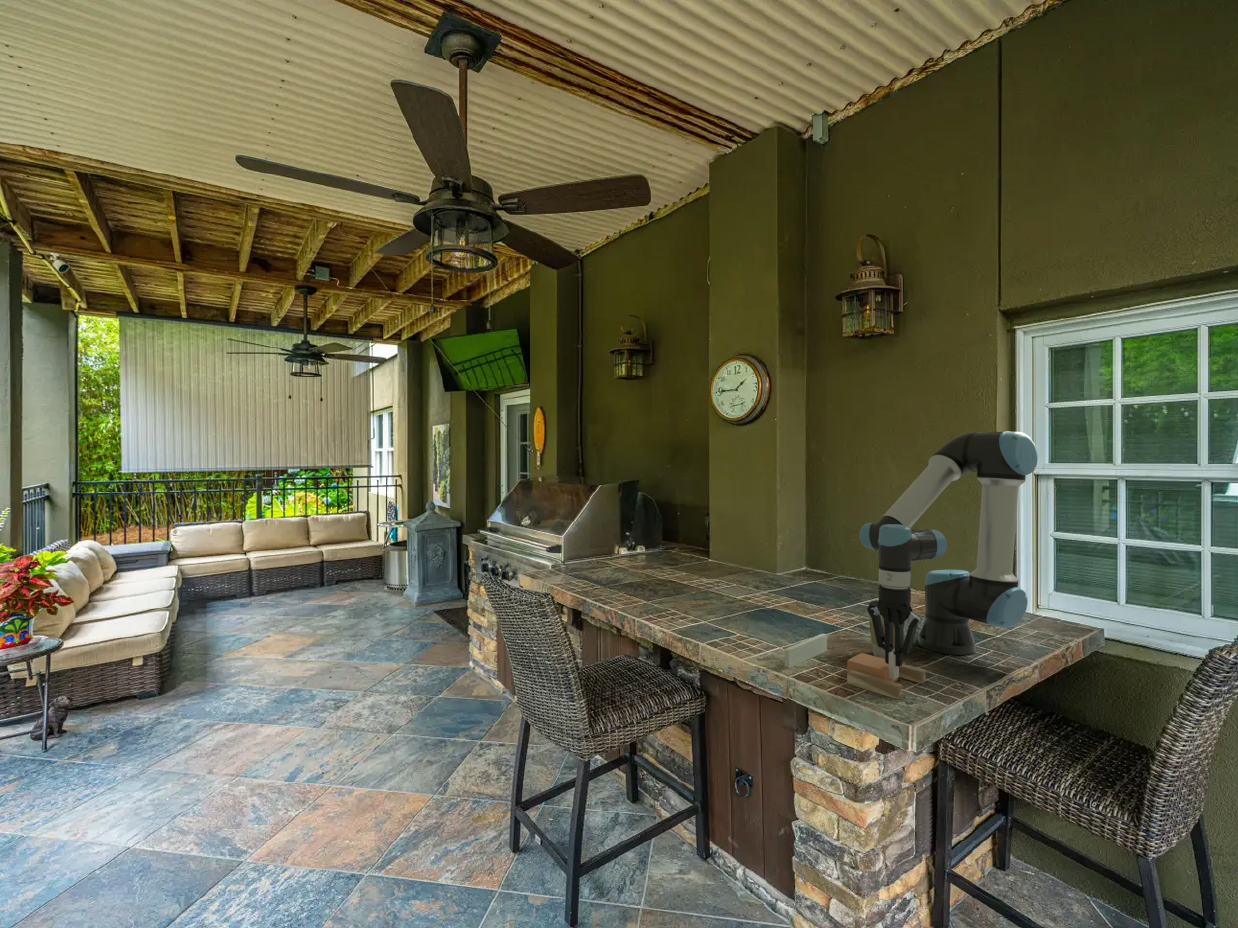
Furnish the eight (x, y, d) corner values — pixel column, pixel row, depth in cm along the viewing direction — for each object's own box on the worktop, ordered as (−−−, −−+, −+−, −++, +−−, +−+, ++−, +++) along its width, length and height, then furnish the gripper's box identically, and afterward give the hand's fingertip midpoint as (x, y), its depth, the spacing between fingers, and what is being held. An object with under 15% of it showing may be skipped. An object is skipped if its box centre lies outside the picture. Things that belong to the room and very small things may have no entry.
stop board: (822, 649, 179) (822, 633, 179) (826, 651, 178) (826, 634, 178) (784, 666, 166) (784, 649, 166) (789, 668, 165) (789, 650, 165)
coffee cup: (893, 649, 179) (893, 599, 179) (910, 661, 170) (911, 608, 169) (860, 649, 179) (861, 600, 179) (876, 662, 169) (876, 609, 169)
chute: (875, 667, 165) (876, 656, 165) (925, 681, 155) (925, 669, 155) (847, 683, 155) (847, 671, 154) (898, 699, 145) (898, 687, 145)
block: (861, 669, 165) (861, 652, 164) (898, 679, 157) (898, 662, 157) (847, 676, 159) (847, 660, 159) (884, 688, 152) (885, 670, 152)
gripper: (862, 583, 155) (862, 674, 156) (914, 592, 145) (914, 688, 146) (875, 579, 160) (875, 666, 161) (927, 587, 150) (926, 680, 151)
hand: (893, 677), depth 154 cm, fingers closed
